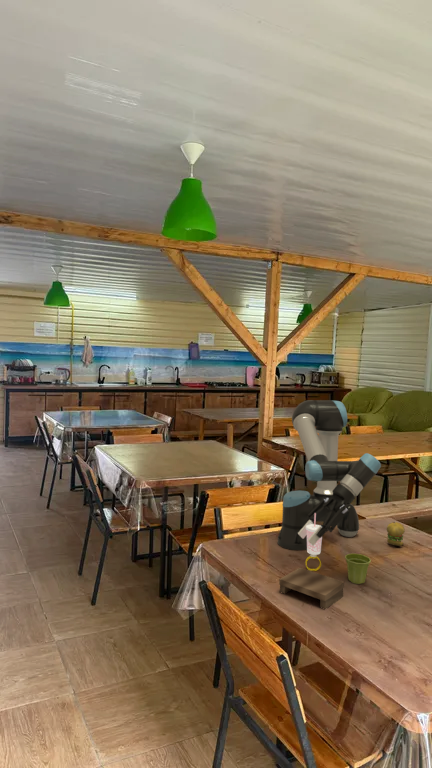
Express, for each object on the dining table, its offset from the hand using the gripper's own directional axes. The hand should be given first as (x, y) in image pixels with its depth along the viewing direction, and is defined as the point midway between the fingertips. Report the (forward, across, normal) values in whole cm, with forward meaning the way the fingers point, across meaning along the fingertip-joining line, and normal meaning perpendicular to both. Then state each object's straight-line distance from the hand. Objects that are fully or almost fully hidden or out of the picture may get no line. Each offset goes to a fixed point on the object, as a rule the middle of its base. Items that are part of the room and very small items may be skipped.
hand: (305, 539), depth 179 cm
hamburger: (-31, +30, -60) cm, 74 cm away
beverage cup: (+1, 0, -6) cm, 6 cm away
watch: (+4, +18, -25) cm, 31 cm away
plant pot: (-4, +5, -33) cm, 33 cm away
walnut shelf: (+12, 0, -17) cm, 20 cm away
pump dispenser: (-22, +48, -51) cm, 74 cm away
